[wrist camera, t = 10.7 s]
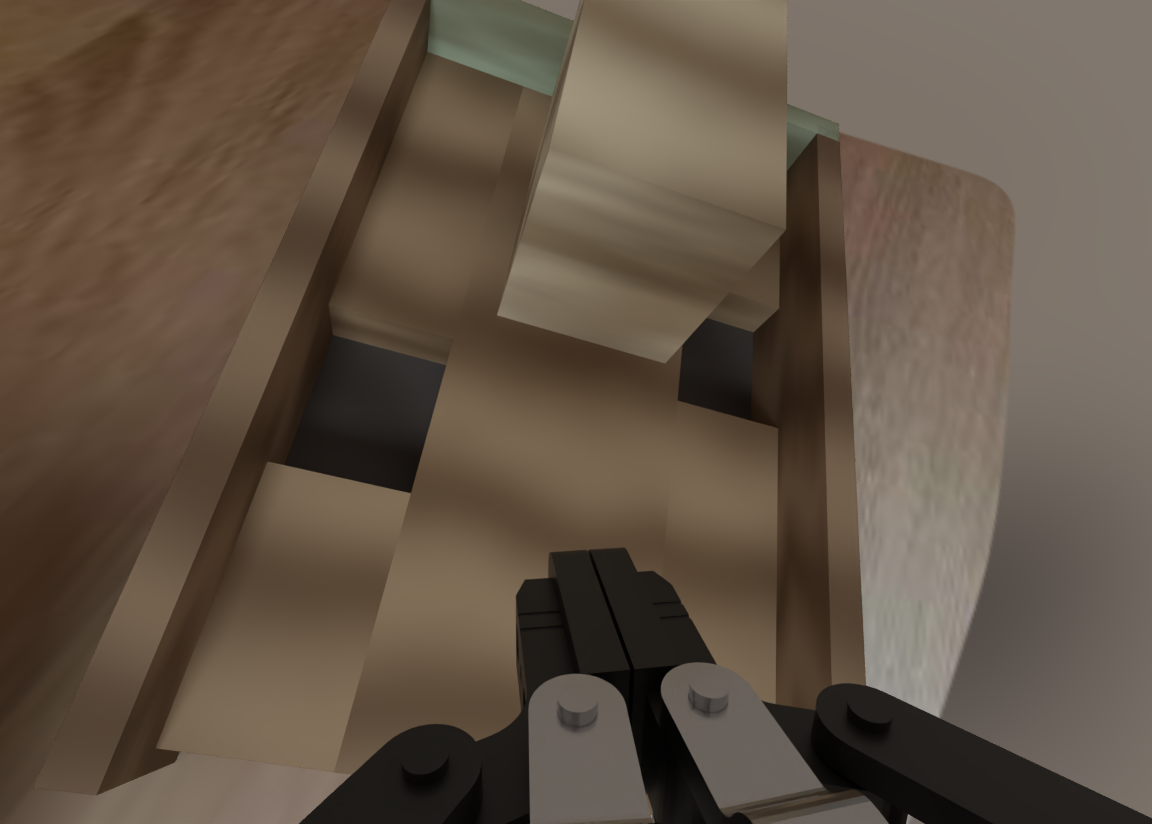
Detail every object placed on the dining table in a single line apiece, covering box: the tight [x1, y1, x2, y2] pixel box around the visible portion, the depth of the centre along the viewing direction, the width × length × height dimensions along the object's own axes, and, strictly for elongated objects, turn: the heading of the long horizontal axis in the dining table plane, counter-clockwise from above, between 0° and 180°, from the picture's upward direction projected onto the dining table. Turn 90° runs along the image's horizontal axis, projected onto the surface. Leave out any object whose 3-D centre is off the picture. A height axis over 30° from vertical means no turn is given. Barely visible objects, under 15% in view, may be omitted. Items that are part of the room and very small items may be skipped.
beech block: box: [497, 0, 788, 363], centre depth 23 cm, size 11×7×8 cm, turn 170°
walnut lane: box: [33, 0, 866, 815], centre depth 24 cm, size 30×20×6 cm
